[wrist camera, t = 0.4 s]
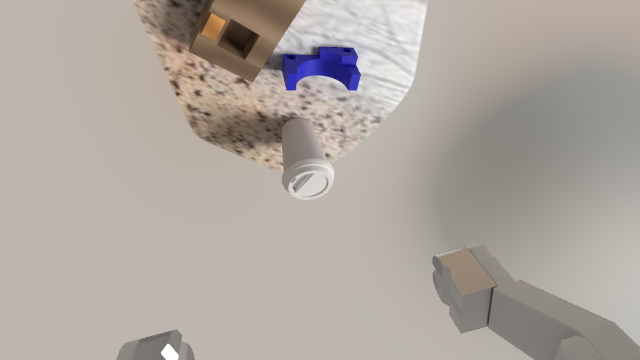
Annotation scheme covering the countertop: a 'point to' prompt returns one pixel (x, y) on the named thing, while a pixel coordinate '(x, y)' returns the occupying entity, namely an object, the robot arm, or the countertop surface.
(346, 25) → the countertop surface
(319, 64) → the cable clip
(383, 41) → the countertop surface
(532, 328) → the robot arm
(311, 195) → the coffee cup
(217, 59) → the socket block
